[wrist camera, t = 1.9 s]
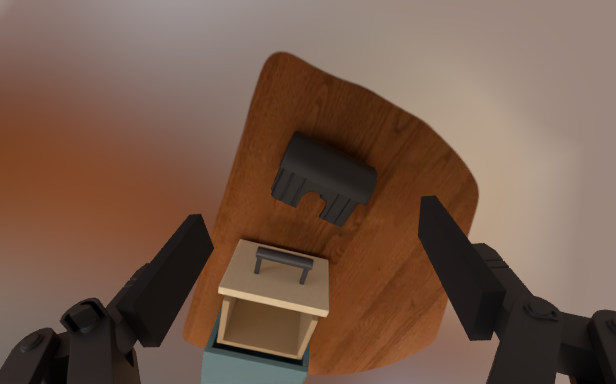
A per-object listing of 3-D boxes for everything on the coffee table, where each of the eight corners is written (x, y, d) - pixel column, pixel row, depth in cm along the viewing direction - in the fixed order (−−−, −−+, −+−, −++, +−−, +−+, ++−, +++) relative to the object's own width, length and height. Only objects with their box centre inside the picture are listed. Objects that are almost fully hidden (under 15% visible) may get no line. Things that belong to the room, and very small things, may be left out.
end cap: (372, 158, 32) (382, 182, 26) (343, 202, 36) (347, 233, 30) (298, 121, 31) (291, 139, 25) (275, 171, 34) (264, 197, 28)
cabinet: (228, 288, 45) (203, 351, 36) (311, 307, 46) (308, 373, 37) (221, 332, 51) (198, 395, 42) (295, 348, 52) (288, 413, 43)
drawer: (244, 215, 37) (222, 260, 29) (337, 238, 37) (340, 288, 30) (231, 291, 44) (211, 343, 36) (309, 308, 45) (305, 362, 37)
